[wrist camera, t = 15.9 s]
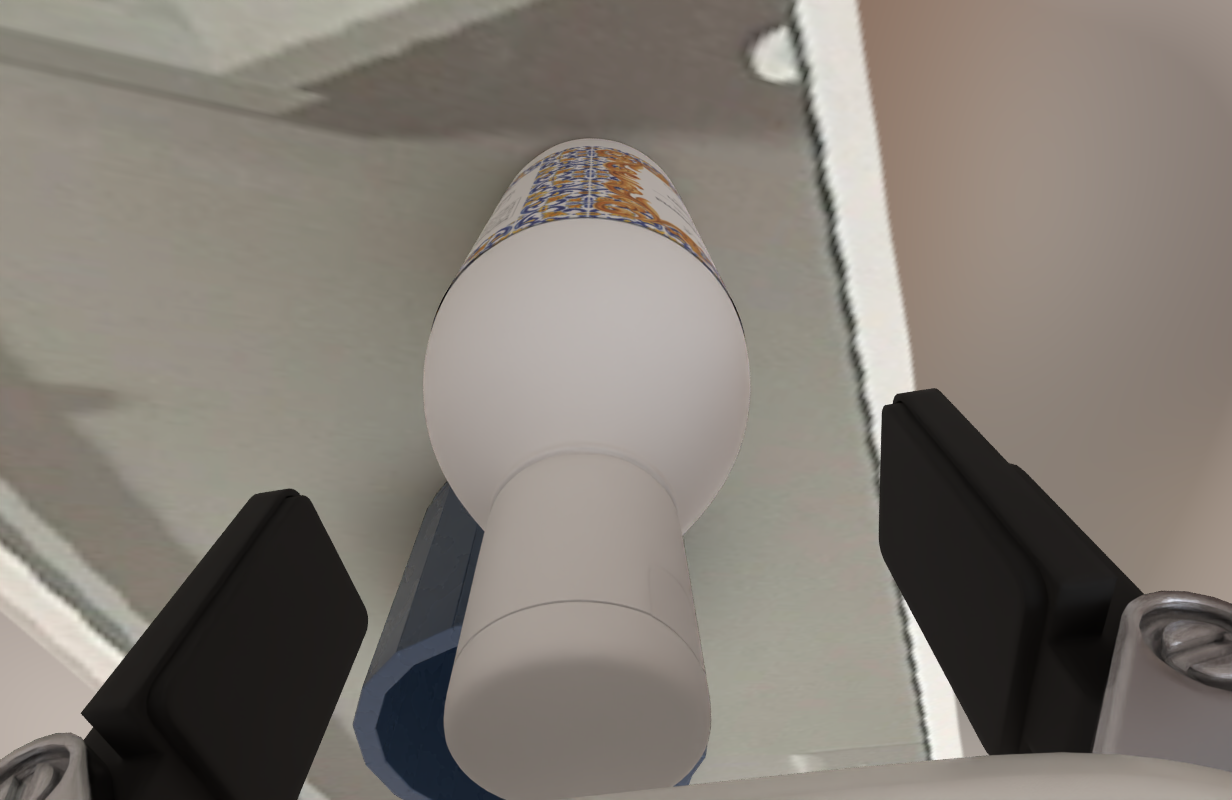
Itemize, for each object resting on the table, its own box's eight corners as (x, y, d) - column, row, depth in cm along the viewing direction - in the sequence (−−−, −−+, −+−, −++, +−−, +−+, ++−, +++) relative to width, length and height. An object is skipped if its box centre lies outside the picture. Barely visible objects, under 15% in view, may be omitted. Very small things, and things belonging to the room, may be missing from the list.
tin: (383, 467, 29) (292, 650, 21) (661, 422, 28) (689, 593, 20) (464, 651, 35) (419, 852, 27) (694, 619, 35) (726, 815, 26)
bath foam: (719, 256, 25) (1001, 783, 7) (573, 350, 27) (525, 950, 9) (617, 92, 22) (689, 322, 4) (461, 210, 24) (83, 699, 6)
